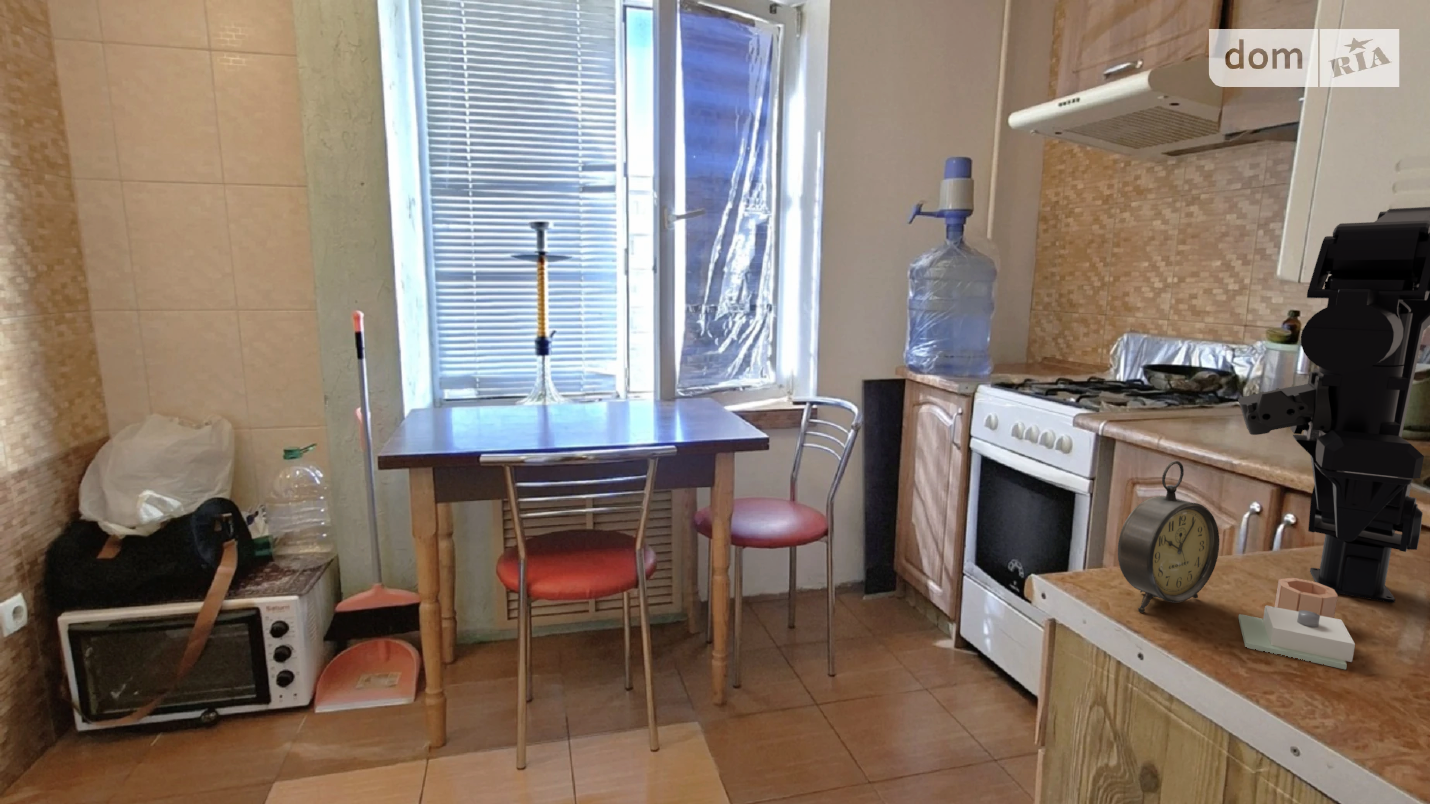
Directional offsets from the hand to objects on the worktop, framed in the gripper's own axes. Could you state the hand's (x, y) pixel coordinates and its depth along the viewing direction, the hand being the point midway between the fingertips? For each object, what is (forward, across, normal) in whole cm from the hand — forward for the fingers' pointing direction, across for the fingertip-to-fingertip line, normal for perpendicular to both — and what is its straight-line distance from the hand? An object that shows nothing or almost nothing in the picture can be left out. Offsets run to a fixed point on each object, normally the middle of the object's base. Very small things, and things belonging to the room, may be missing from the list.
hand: (1334, 524), depth 67 cm
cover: (+12, +1, -1) cm, 12 cm away
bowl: (+12, -6, 0) cm, 14 cm away
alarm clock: (+13, -3, -13) cm, 18 cm away
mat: (+12, +1, -2) cm, 13 cm away
